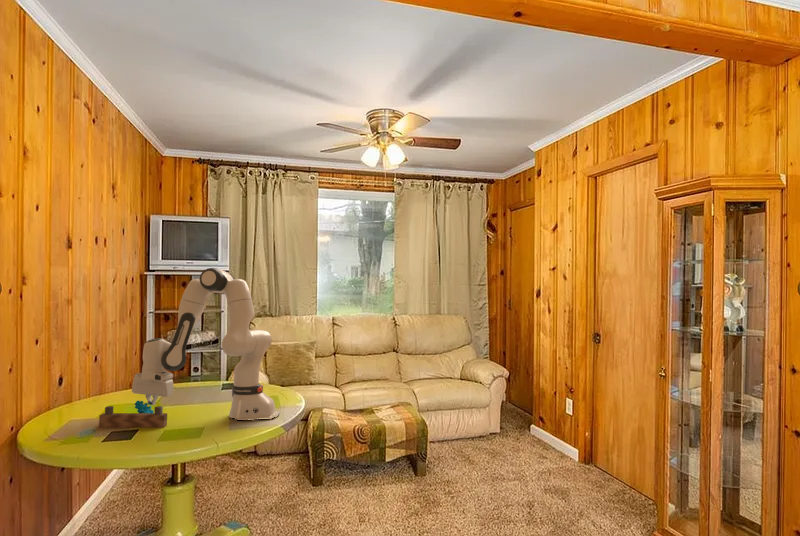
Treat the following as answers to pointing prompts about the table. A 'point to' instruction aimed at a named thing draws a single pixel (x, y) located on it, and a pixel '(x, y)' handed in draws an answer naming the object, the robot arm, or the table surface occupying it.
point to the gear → (143, 407)
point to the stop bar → (133, 418)
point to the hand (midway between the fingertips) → (151, 404)
